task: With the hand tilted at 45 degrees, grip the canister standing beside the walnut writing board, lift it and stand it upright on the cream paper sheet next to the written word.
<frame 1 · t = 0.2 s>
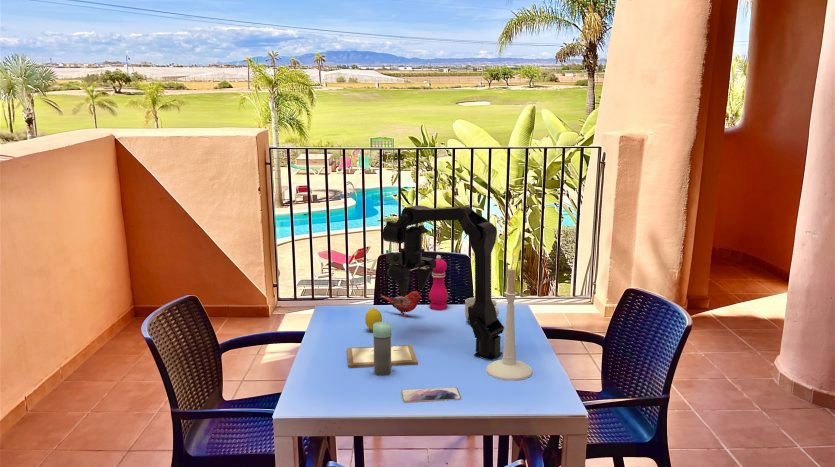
hand: (412, 293, 212), 15 cm above the table, tool pointing down, fingers open, 9 cm apart
pepper mill: (438, 308, 246), on the table
teacup: (482, 324, 227), on the table
smartphone: (430, 397, 171), on the table
candlestick: (508, 372, 186), on the table
lemon: (373, 331, 220), on the table
decorative bird figurine: (400, 316, 236), on the table
canister: (382, 372, 186), on the table
writing board: (381, 357, 197), on the table
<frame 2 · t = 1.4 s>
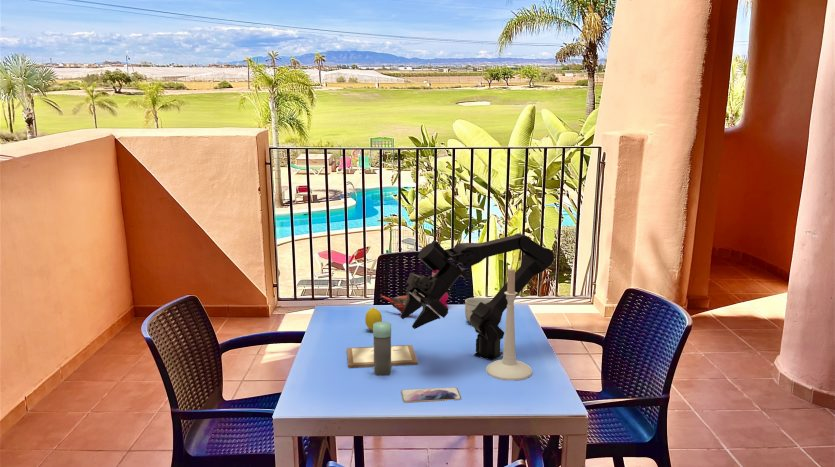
hand: (407, 322, 186), 13 cm above the table, tool tilted 45°, fingers open, 9 cm apart
nothing on the table moved.
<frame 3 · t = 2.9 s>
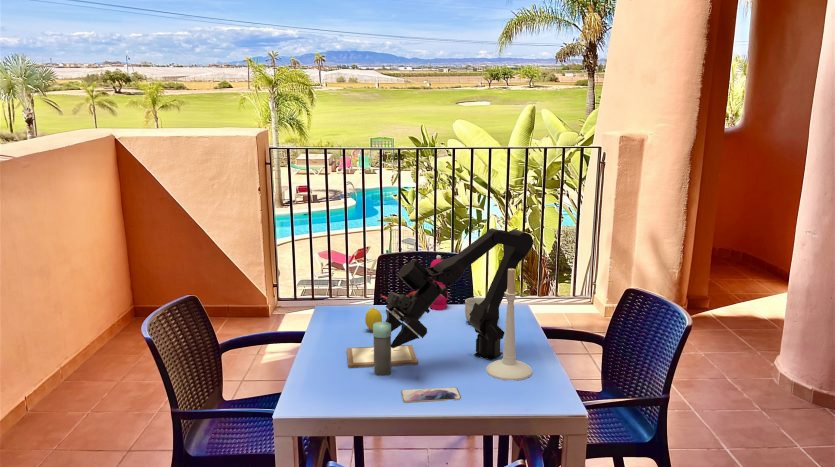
hand: (385, 341, 184), 9 cm above the table, tool tilted 45°, fingers open, 9 cm apart
nothing on the table moved.
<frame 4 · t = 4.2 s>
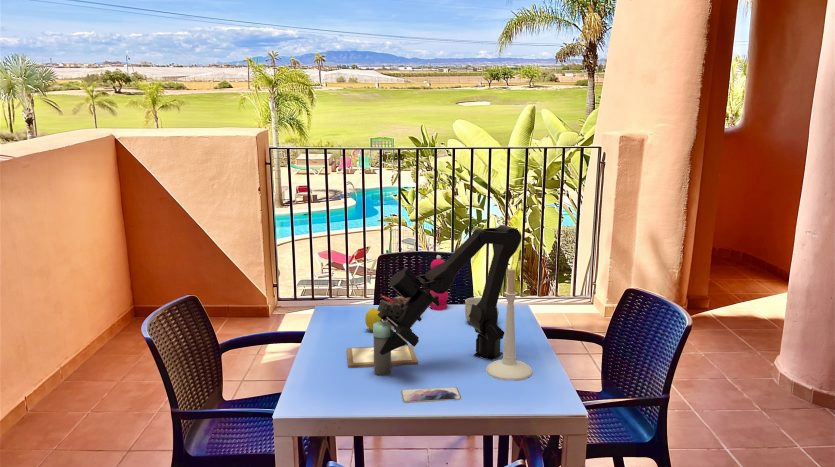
hand: (377, 350, 184), 7 cm above the table, tool tilted 45°, fingers closed on canister, 5 cm apart
canister: (382, 372, 186), on the table, touching gripper
everything else where it was.
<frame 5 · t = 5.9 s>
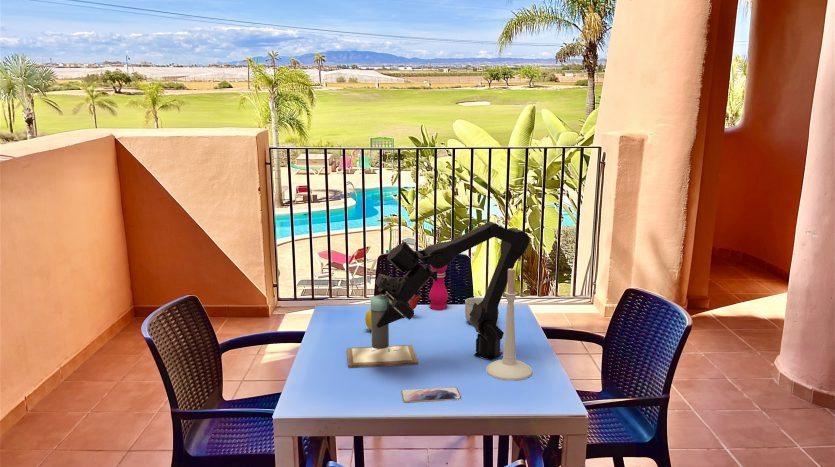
hand: (375, 323, 185), 13 cm above the table, tool tilted 45°, fingers closed on canister, 5 cm apart
canister: (380, 345, 187), point 7 cm above the table, touching gripper
everything else where it was.
when the fingers open (9 cm above the table, at t = 7.8 s): canister drops 1 cm, resting on writing board.
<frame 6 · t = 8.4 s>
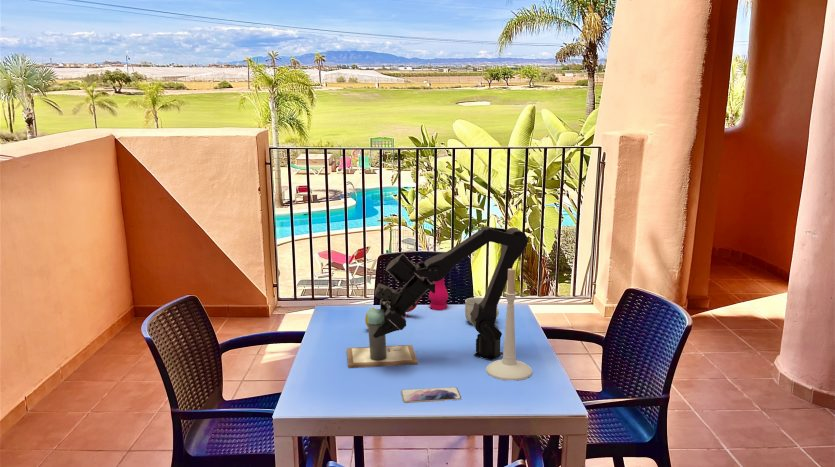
hand: (373, 331, 192), 9 cm above the table, tool tilted 45°, fingers open, 9 cm apart
canister: (378, 357, 194), point 1 cm above the table, touching writing board
everything else where it was.
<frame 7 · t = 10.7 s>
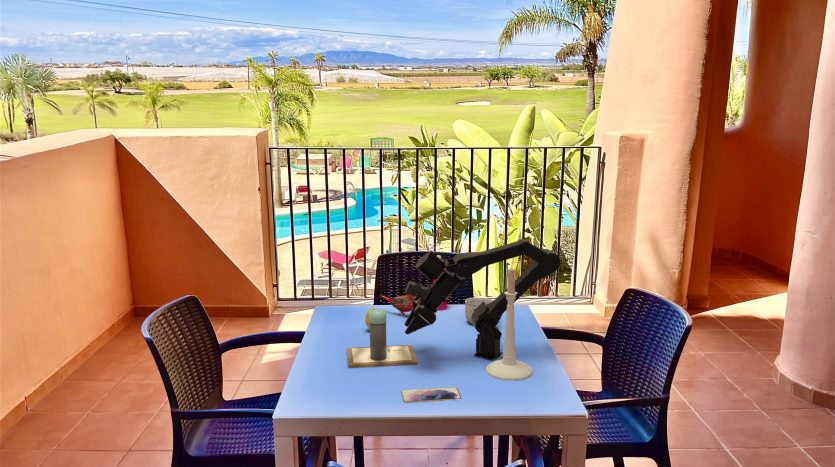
hand: (405, 329, 193), 9 cm above the table, tool tilted 40°, fingers open, 9 cm apart
nothing on the table moved.
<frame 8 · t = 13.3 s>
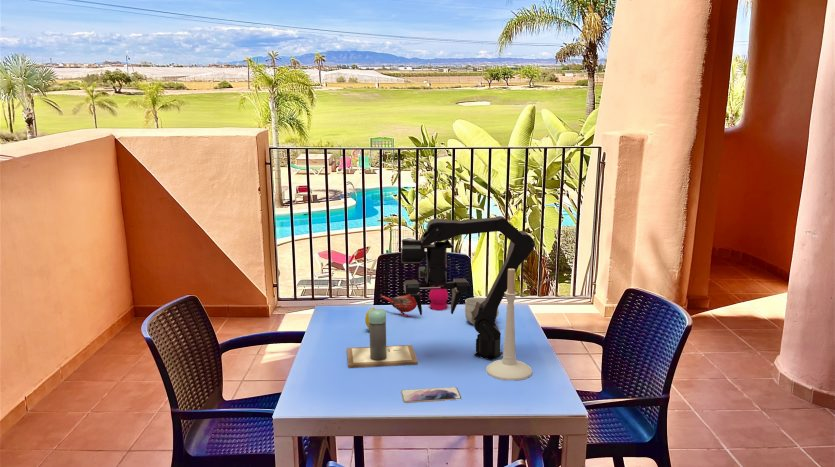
hand: (436, 314, 195), 13 cm above the table, tool pointing down, fingers open, 9 cm apart
nothing on the table moved.
at the end: canister inside the target area on the writing board (0.3 cm from its centre), point 1.0 cm above the writing board's base; canister tilted 1°; the gripper is holding nothing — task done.
